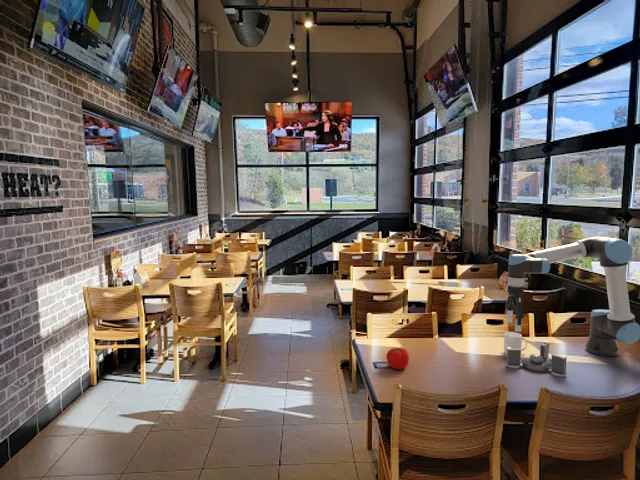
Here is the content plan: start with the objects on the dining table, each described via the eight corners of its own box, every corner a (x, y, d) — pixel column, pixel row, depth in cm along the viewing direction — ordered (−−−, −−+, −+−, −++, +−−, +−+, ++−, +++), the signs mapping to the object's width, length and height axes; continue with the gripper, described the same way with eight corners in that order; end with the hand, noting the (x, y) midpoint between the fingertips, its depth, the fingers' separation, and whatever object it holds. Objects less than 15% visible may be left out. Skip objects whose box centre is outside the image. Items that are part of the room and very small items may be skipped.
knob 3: (550, 369, 210) (551, 353, 209) (553, 368, 211) (554, 352, 210) (563, 374, 205) (564, 357, 204) (565, 373, 206) (566, 356, 205)
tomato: (410, 363, 224) (410, 344, 223) (407, 373, 212) (407, 353, 211) (388, 361, 227) (388, 342, 226) (384, 371, 215) (384, 351, 214)
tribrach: (548, 358, 228) (548, 347, 227) (568, 377, 204) (569, 365, 204) (499, 357, 230) (499, 346, 230) (514, 376, 207) (514, 364, 206)
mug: (530, 356, 231) (531, 337, 230) (507, 356, 231) (508, 337, 230) (523, 350, 239) (523, 331, 238) (501, 350, 240) (501, 332, 239)
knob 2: (544, 360, 222) (544, 344, 221) (539, 359, 223) (540, 343, 222) (548, 357, 226) (549, 341, 225) (544, 355, 227) (544, 340, 226)
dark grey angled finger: (518, 362, 219) (519, 347, 218) (520, 364, 217) (520, 348, 216) (506, 362, 219) (506, 347, 219) (507, 364, 217) (508, 348, 216)
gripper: (500, 280, 228) (498, 319, 230) (516, 290, 203) (513, 334, 205) (515, 280, 227) (513, 319, 229) (532, 291, 202) (530, 335, 205)
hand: (513, 327), depth 217 cm, fingers open, 13 cm apart
